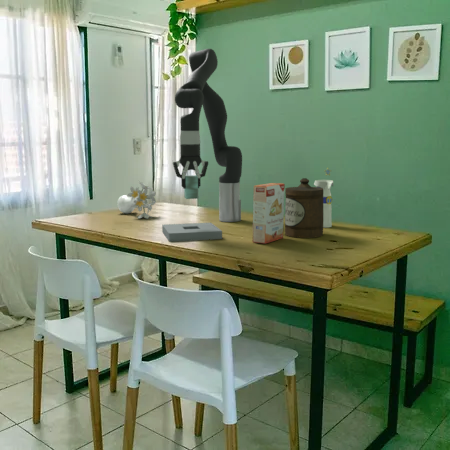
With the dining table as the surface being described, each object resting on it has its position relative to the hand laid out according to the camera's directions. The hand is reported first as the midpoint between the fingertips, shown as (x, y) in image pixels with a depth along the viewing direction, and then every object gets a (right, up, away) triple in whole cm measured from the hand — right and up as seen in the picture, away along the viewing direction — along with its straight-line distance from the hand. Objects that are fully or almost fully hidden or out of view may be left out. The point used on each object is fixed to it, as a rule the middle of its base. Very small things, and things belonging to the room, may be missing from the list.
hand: (190, 188), depth 212 cm
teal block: (0, -4, +1) cm, 4 cm away
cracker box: (+29, -20, -7) cm, 36 cm away
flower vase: (-30, -10, +54) cm, 62 cm away
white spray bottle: (+55, -15, +23) cm, 61 cm away
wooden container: (+44, -18, +4) cm, 48 cm away
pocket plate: (0, -18, +3) cm, 18 cm away
